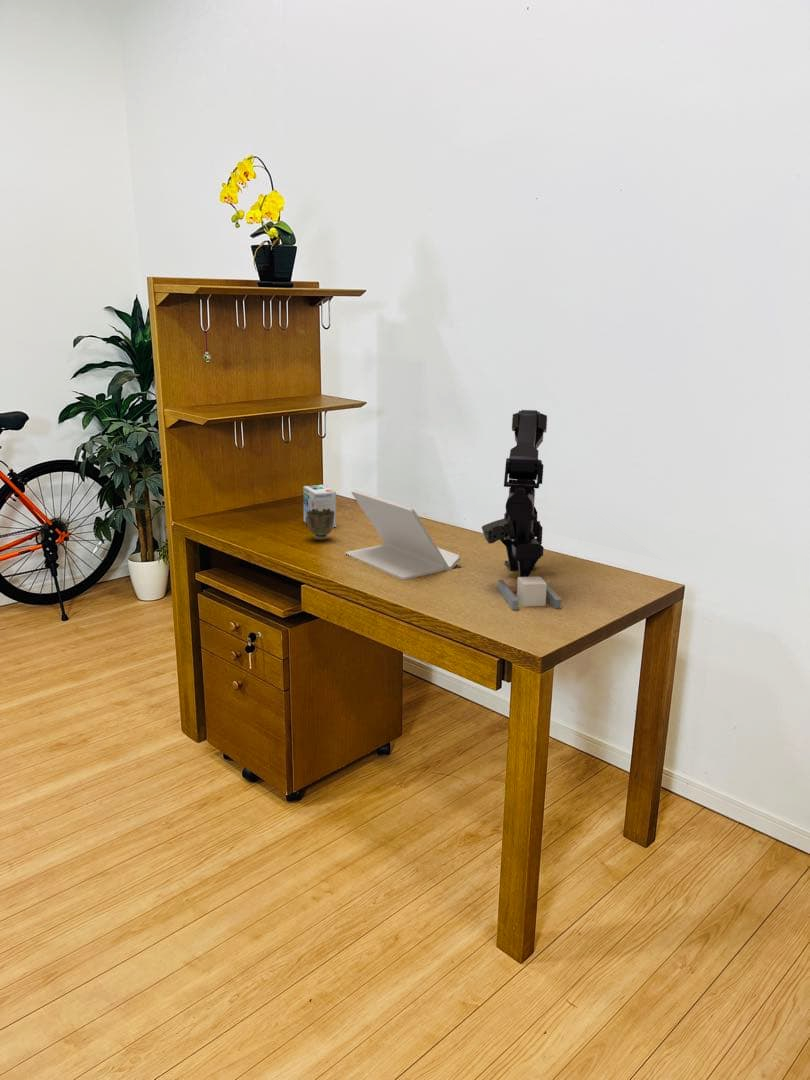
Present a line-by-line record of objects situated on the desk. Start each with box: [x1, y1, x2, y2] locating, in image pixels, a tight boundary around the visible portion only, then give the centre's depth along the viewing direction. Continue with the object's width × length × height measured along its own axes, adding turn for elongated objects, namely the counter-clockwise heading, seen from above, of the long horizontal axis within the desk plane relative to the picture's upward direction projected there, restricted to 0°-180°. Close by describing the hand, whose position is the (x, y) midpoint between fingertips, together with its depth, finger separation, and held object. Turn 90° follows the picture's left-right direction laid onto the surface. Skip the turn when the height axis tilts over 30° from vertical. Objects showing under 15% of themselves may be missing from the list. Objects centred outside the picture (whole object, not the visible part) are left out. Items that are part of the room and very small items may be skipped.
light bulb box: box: [302, 484, 337, 528], centre depth 236 cm, size 11×7×11 cm, turn 25°
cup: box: [307, 509, 335, 542], centre depth 221 cm, size 8×7×8 cm
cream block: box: [516, 576, 548, 607], centre depth 176 cm, size 5×5×5 cm
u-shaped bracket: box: [497, 579, 562, 611], centre depth 179 cm, size 14×10×2 cm
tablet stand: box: [345, 489, 462, 581], centre depth 203 cm, size 18×25×17 cm
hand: (517, 575), depth 188 cm, fingers open, 9 cm apart
